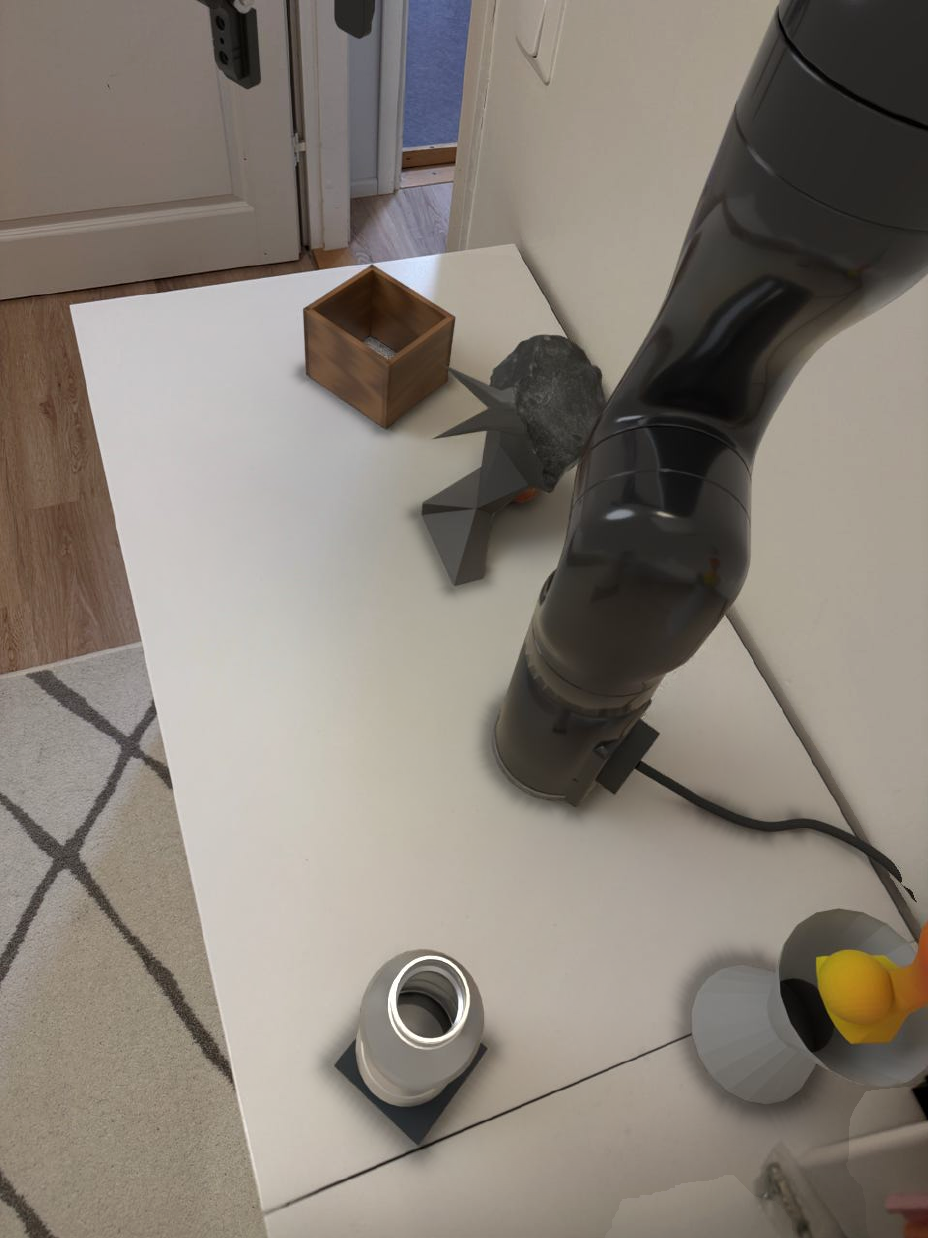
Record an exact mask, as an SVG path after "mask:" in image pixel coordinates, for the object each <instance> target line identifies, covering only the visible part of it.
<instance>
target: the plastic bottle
mask: <svg viewBox="0 0 928 1238" xmlns="http://www.w3.org/2000/svg"><path fill="white" fill-rule="evenodd" d="M483 1002H484V1001H483V997H482V994H481V992H480V989H479V986H478V985H477V983H476V981H475V979H474V978H473V976H472V974H471V973H470V972H469V971H468V970H467V968H466V967H465V966H464V965H463V964H462V963H461V962H459V961H458V960H457V959H455V958H454V957H452V956H450V955H448V954H446V953H444V952H442V951H438V950H434V949H425V948H418V949H413V950H406V951H405V952H402V953H400V954H397V955H394V956H393V957H392V958H391V959H389V960H387V961H385V962H384V964H383V965H382V966H381V967H380V968H379V969H377V970H376V972H375V973H374V974H373V976H372V978H370V980H369V982H368V983H367V986H366V989H365V991H364V993H363V996H362V999H361V1002H360V1003H361V1004H360V1007H359V1017H358V1018H359V1019H358V1030H357V1034H356V1037H357V1038H356V1037H355V1039H356V1060H357V1064H358V1068H359V1071H360V1074H361V1076H362V1078H363V1080H364V1082H365V1084H366V1085H367V1086H368V1088H369V1089H370V1090H371V1091H372V1092H373V1093H374V1094H375V1095H376V1096H377V1097H379V1098H380V1099H381V1100H383V1101H385V1102H387V1103H389V1104H392V1105H396V1106H400V1107H412V1106H416V1105H421V1104H423V1103H425V1102H427V1101H430V1100H431V1099H433V1098H434V1097H435V1096H437V1095H438V1094H439V1093H440V1092H441V1091H442V1090H443V1089H444V1088H445V1087H446V1086H447V1084H448V1083H450V1082H452V1081H453V1080H454V1079H456V1078H457V1077H458V1076H460V1075H461V1074H462V1073H463V1072H464V1071H465V1069H466V1068H467V1067H468V1066H469V1065H470V1063H471V1062H472V1060H473V1058H474V1057H475V1055H476V1053H477V1051H478V1048H479V1046H480V1043H482V1041H483V1035H484V1029H485V1008H484V1003H483Z"/></svg>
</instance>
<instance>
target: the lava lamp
mask: <svg viewBox="0 0 928 1238" xmlns="http://www.w3.org/2000/svg"><path fill="white" fill-rule="evenodd" d="M691 1036H692V1039H693V1042H694V1046H695V1049H696V1052H697V1055H698V1057H699V1059H700V1061H701V1062H702V1064H703V1066H704V1067H705V1069H706V1070H707V1073H709V1075H710V1077H712V1078H713V1080H715V1082H716V1083H718V1084H719V1085H720V1086H721V1087H722V1088H723V1089H724V1090H725V1091H726V1092H727V1093H730V1094H732V1095H734V1096H736V1097H738V1098H739V1099H742V1100H743V1101H745V1102H748V1103H749V1102H750V1103H756V1104H762V1105H770V1104H774V1103H780V1102H784V1101H787V1100H788V1099H789V1098H791V1097H792V1096H793V1095H795V1094H796V1093H798V1092H799V1091H800V1090H801V1089H802V1088H803V1086H804V1085H805V1083H806V1082H807V1080H808V1078H809V1077H810V1075H811V1074H812V1072H813V1070H814V1069H815V1067H816V1065H819V1066H820V1067H821V1068H823V1069H825V1070H827V1071H829V1072H831V1073H833V1074H835V1075H837V1076H838V1077H840V1078H843V1079H845V1080H846V1081H849V1082H850V1083H853V1084H857V1085H864V1086H871V1087H877V1088H887V1087H892V1086H896V1085H901V1084H905V1083H908V1082H910V1081H911V1080H913V1079H914V1078H915V1077H917V1076H918V1075H919V1074H921V1073H922V1072H923V1071H924V1070H925V1069H927V1068H928V920H927V921H926V923H925V924H924V925H923V927H922V930H921V931H920V935H919V939H918V945H917V951H916V949H915V948H914V947H913V945H912V944H911V943H910V941H908V940H907V939H906V938H905V937H903V936H902V935H901V934H900V933H899V932H898V931H897V930H896V929H894V928H893V927H892V926H891V925H889V924H888V923H887V922H885V921H883V920H881V919H878V918H876V917H874V916H872V915H870V914H868V913H865V912H864V911H859V910H858V911H857V910H851V909H845V908H840V907H838V908H833V909H829V910H828V909H827V910H821V911H817V912H815V913H813V914H812V915H810V916H809V917H807V918H805V919H804V920H802V921H800V922H799V923H798V924H796V926H795V927H794V929H793V930H792V931H791V932H790V934H789V935H788V937H787V938H786V940H785V941H784V943H783V944H782V946H781V949H780V954H779V957H778V960H777V964H776V969H775V971H773V970H769V969H766V968H762V967H757V966H750V965H745V964H738V965H734V966H727V967H723V968H721V969H719V970H718V971H716V972H714V973H713V974H711V975H710V976H708V977H707V978H706V980H705V981H704V982H703V984H702V985H701V986H700V988H699V989H698V991H697V993H696V995H695V999H694V1002H693V1005H692V1008H691Z"/></svg>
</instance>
